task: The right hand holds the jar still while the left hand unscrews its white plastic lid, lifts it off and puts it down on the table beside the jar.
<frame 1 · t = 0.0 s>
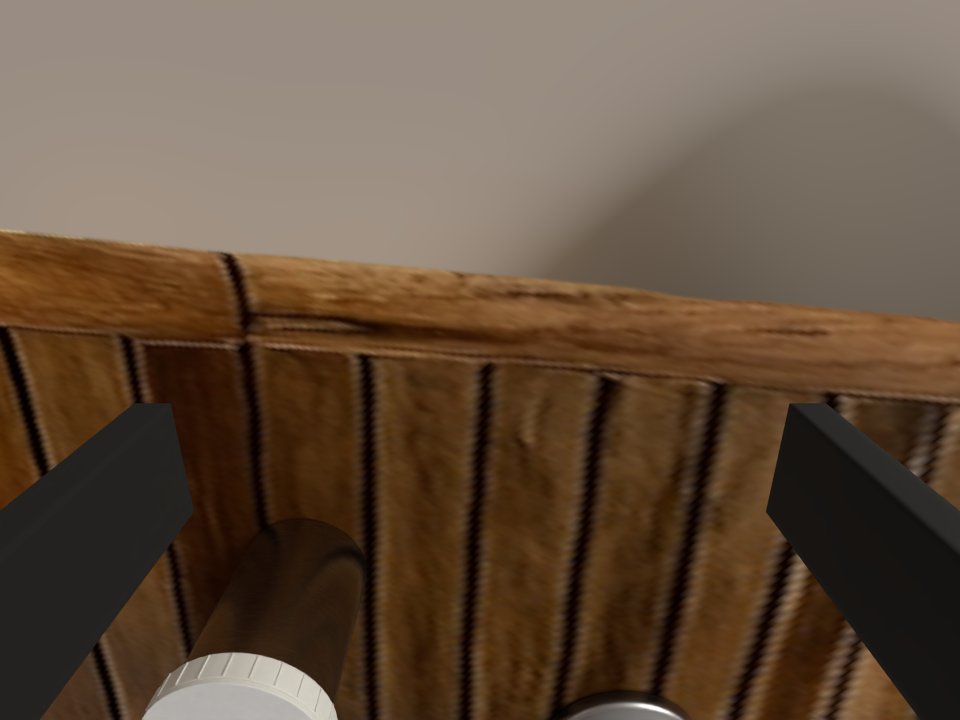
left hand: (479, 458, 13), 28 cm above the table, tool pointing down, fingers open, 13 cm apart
jar: (306, 568, 49), on the table
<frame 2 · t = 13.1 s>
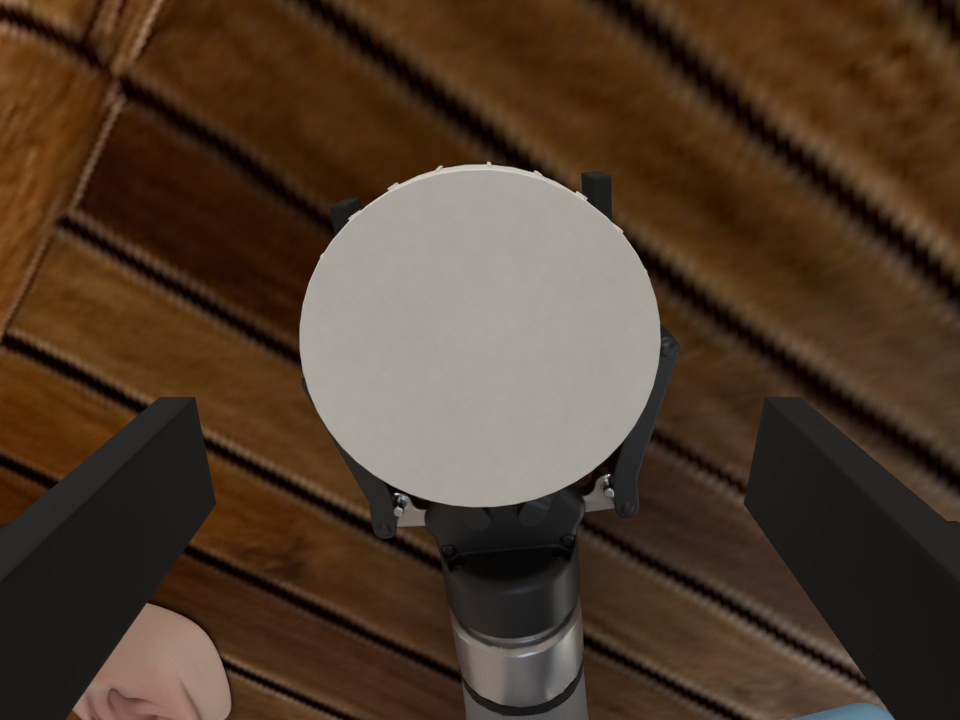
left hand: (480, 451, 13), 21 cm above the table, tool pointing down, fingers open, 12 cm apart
lid: (480, 353, 19), point 15 cm above the table, screwed on, not yet turned
anatomical model: (153, 662, 44), on the table
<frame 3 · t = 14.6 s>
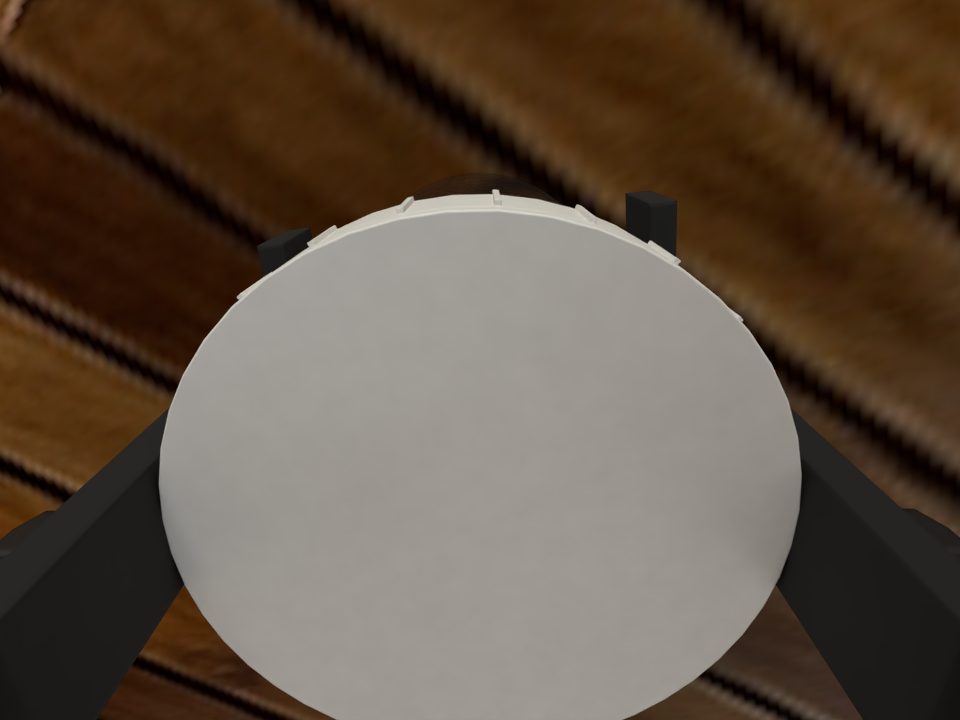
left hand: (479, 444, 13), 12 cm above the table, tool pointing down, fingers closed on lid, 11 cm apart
jar: (480, 297, 25), on the table, touching right hand
lid: (480, 520, 11), point 15 cm above the table, screwed on, not yet turned, touching left hand
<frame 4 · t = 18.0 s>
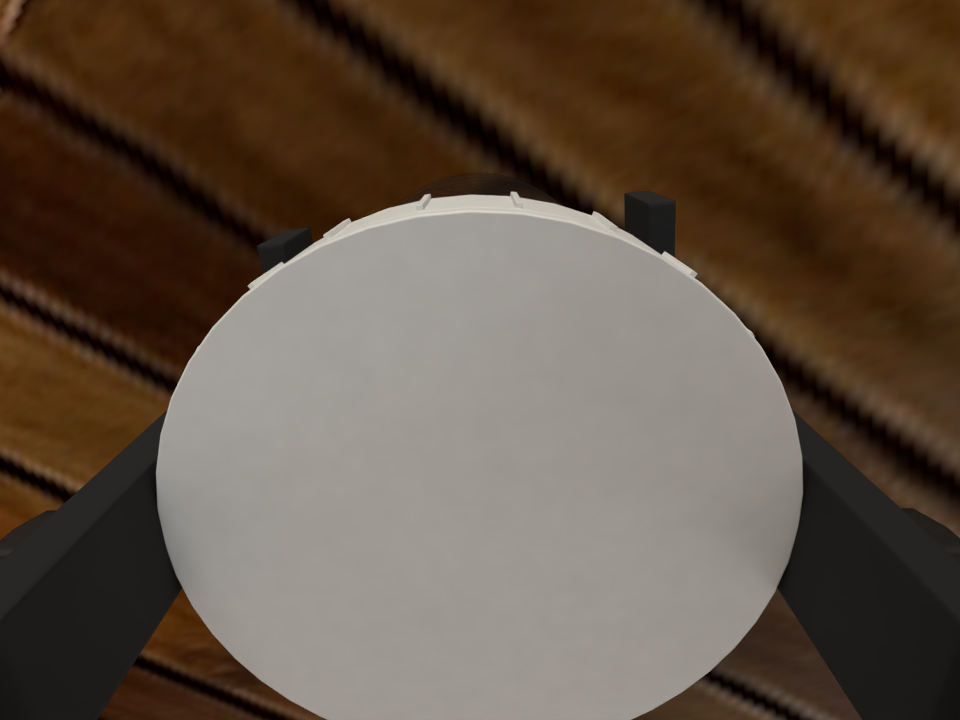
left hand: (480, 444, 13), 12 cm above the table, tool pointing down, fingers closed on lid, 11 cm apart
jar: (479, 296, 25), on the table, touching right hand
lid: (479, 523, 11), point 15 cm above the table, turned 87° so far, risen 0.1 cm, still on its thread, touching left hand
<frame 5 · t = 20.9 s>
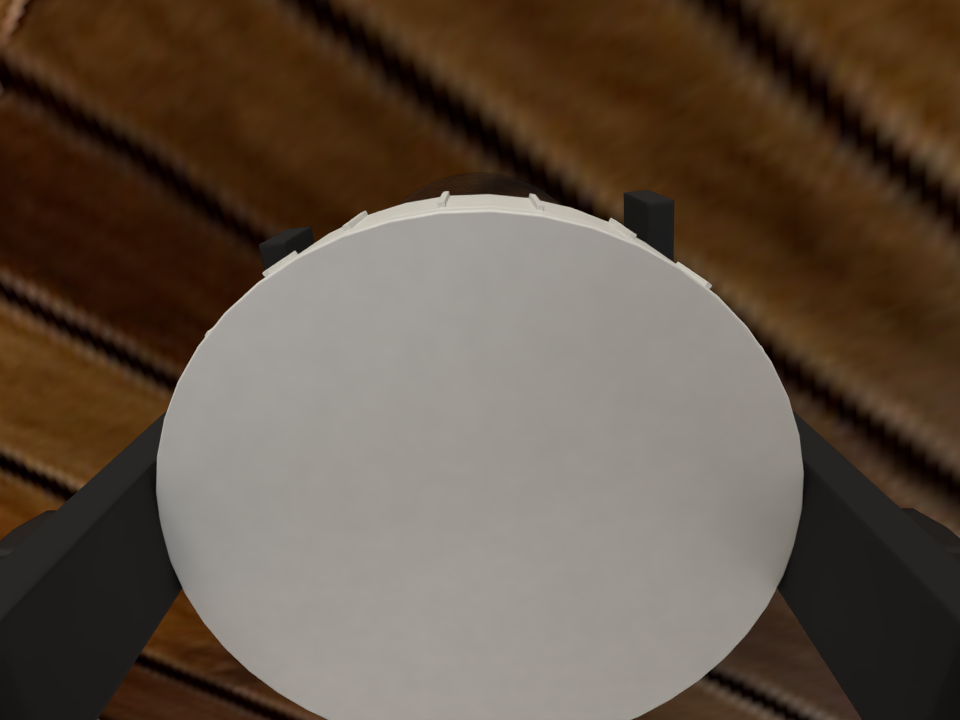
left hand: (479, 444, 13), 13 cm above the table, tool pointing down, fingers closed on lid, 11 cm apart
jar: (479, 295, 25), on the table, touching right hand
lid: (479, 523, 11), point 15 cm above the table, turned 174° so far, risen 0.3 cm, still on its thread, touching left hand
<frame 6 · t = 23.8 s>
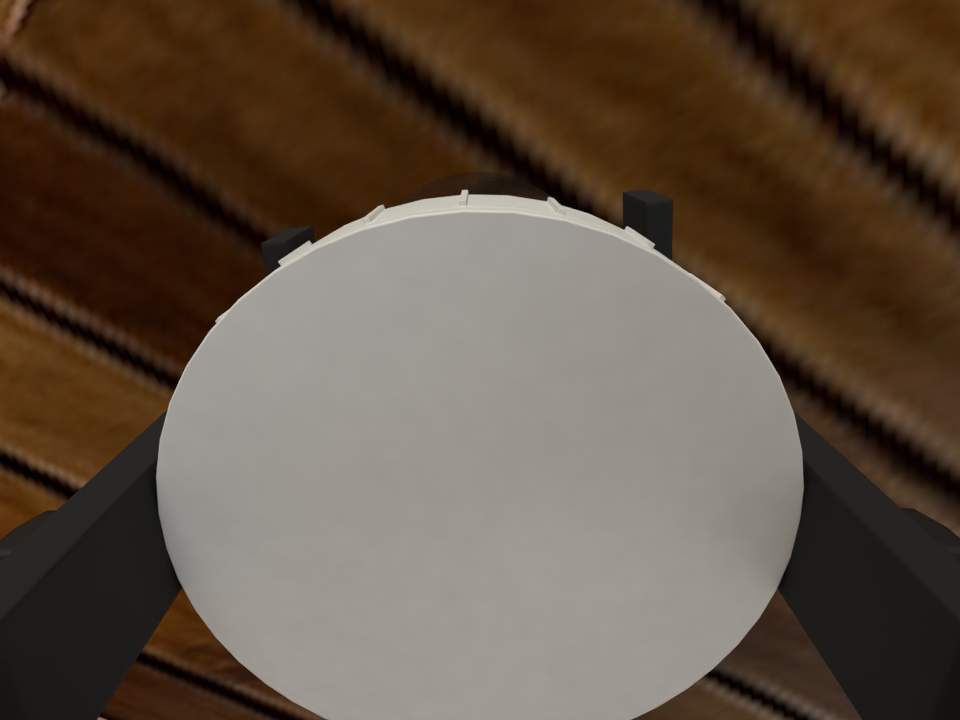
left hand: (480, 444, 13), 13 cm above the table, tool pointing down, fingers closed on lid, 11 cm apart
jar: (479, 294, 25), on the table, touching right hand
lid: (480, 523, 11), point 16 cm above the table, turned 260° so far, risen 0.4 cm, still on its thread, touching left hand
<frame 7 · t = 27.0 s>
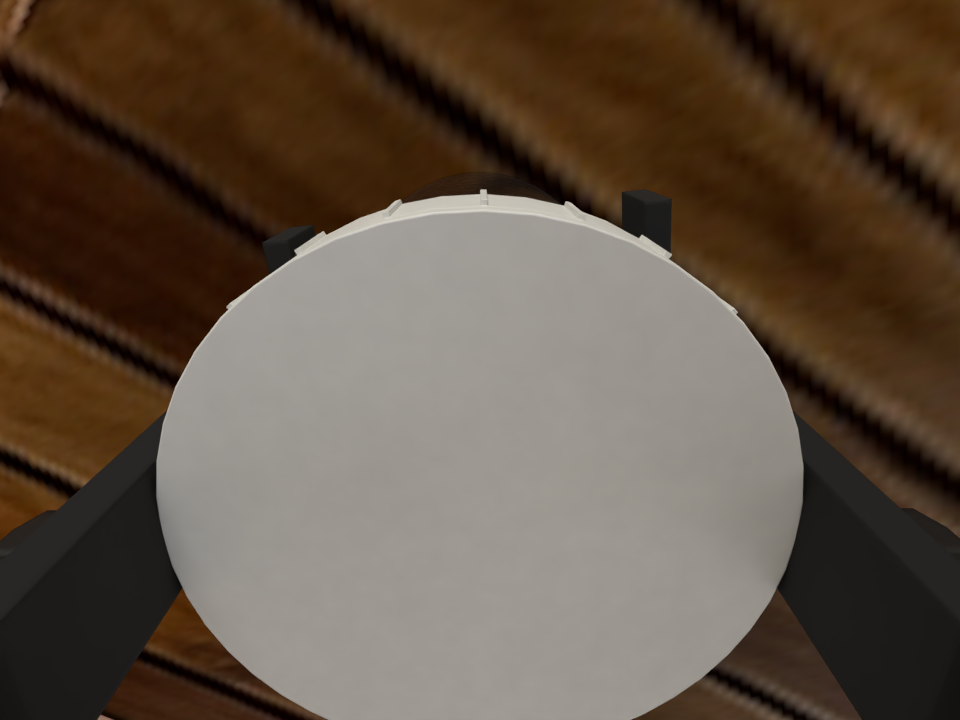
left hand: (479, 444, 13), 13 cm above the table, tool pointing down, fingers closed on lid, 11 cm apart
jar: (479, 294, 25), on the table, touching right hand
lid: (479, 523, 11), point 16 cm above the table, turned 347° so far, risen 0.5 cm, still on its thread, touching left hand
when the left hand's fingers open (1 cm above the table, at t = 33.8 s): lid drops 2 cm, point 2 cm above the table.
when the right hand's fingers open (7 cm above the table, at t = 34.8 s): jar stays where it is, on the table.
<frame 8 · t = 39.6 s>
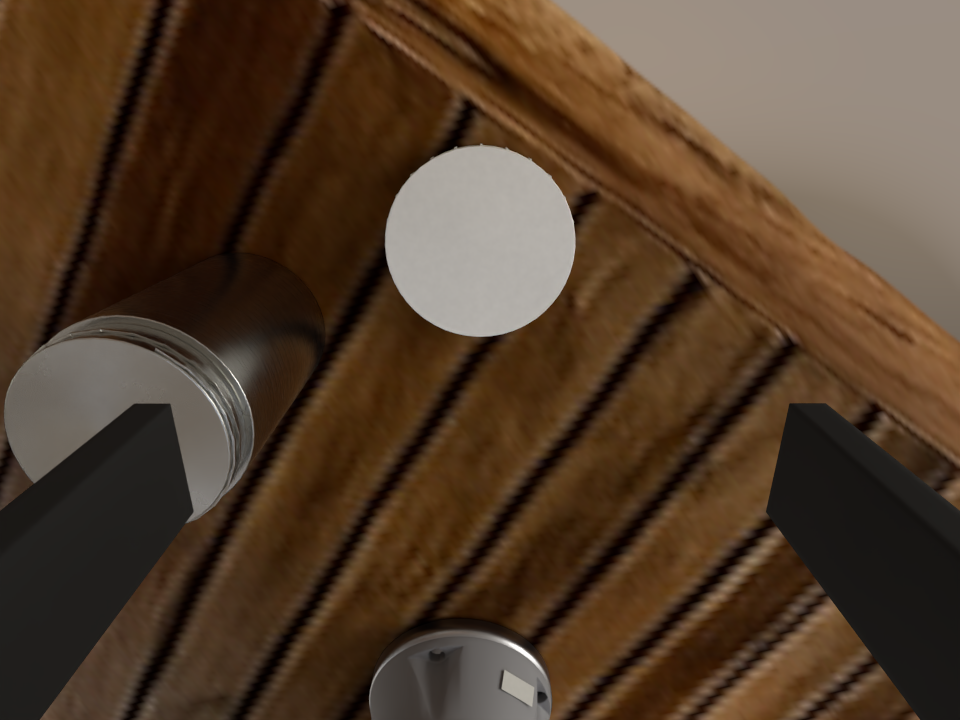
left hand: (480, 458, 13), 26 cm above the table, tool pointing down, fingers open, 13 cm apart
jar: (249, 328, 39), on the table
lid: (480, 246, 35), point 2 cm above the table, off its thread
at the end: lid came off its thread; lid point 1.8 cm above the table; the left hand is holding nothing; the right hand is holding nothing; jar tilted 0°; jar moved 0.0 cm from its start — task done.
